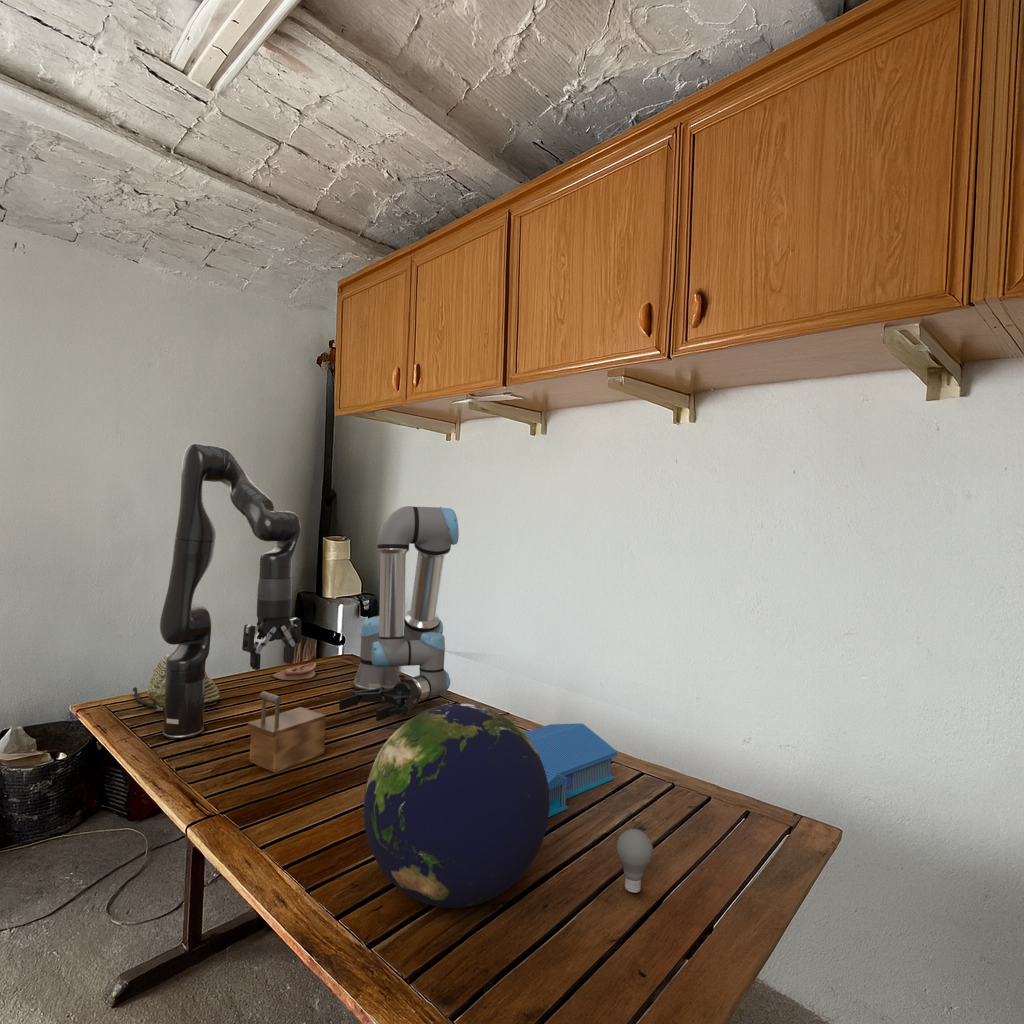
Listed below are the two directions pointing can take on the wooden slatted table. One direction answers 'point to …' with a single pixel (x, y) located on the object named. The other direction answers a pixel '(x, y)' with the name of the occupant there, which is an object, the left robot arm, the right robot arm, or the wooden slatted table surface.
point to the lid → (283, 717)
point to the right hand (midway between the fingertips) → (358, 710)
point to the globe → (456, 806)
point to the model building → (571, 760)
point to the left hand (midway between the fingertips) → (272, 665)
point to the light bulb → (634, 857)
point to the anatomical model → (297, 672)
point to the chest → (287, 746)
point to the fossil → (158, 687)
